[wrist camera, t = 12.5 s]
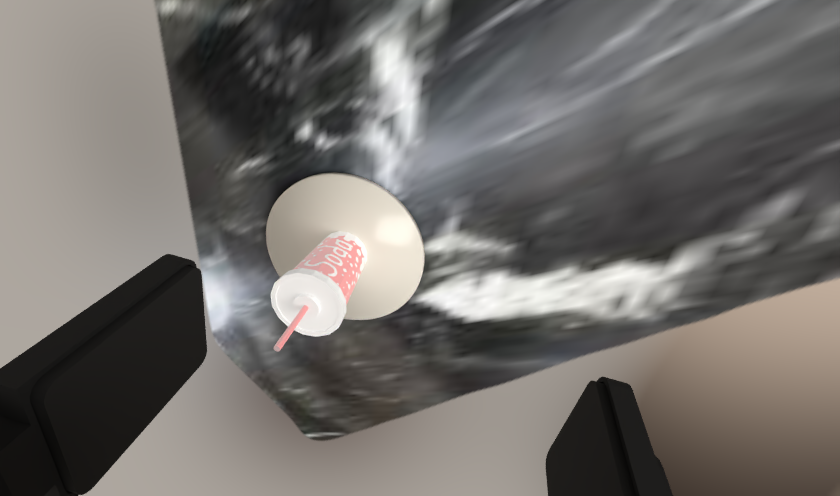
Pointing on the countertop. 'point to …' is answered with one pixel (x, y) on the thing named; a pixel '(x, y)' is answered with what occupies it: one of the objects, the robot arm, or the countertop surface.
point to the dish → (360, 216)
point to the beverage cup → (319, 287)
